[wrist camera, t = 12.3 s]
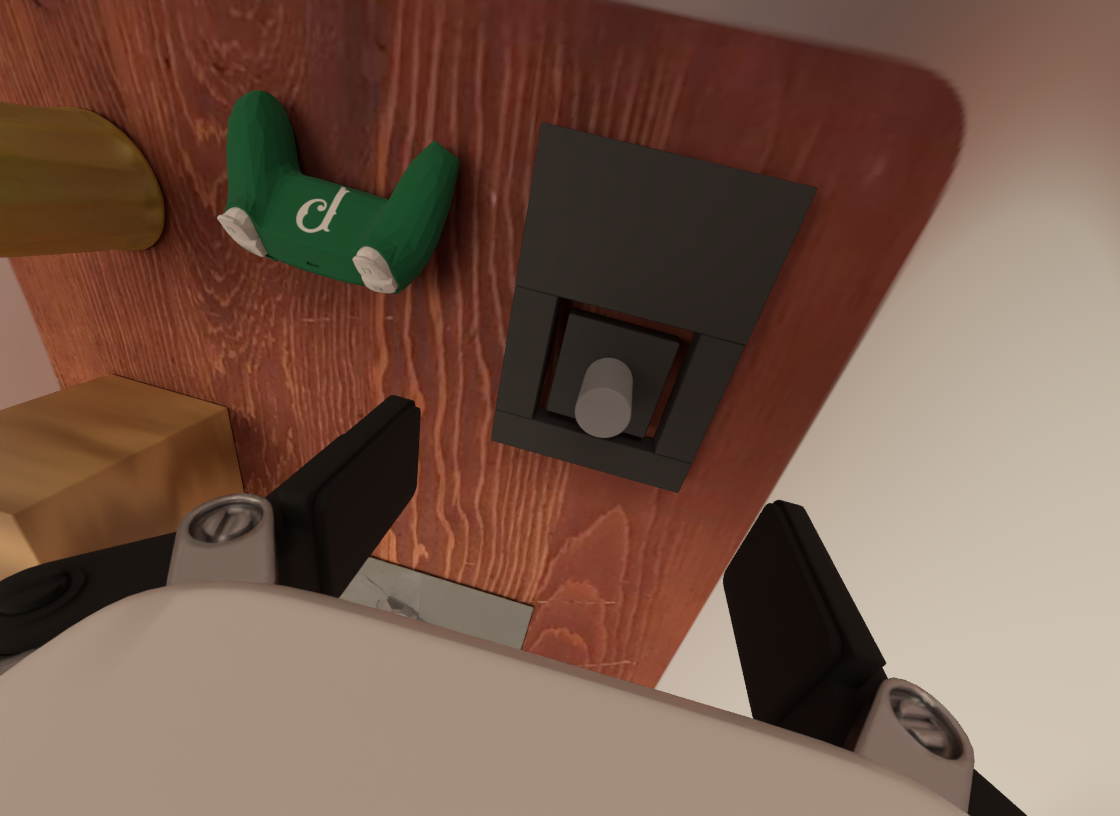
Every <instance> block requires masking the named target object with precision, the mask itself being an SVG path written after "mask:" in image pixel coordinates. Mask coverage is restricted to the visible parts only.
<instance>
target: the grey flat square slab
mask: <svg viewBox="0 0 1120 816" xmlns="http://www.w3.org/2000/svg"><path fill="white" fill-rule="evenodd" d="M339 599H343V600H346V601H350V602H354V603H357V604H361V605H365V606H369V607H372V608H376V609H380V610H384V611H387V612H391V613H394V614H398V615H401V616H405V617H408V618H412V619H415V620H419V621H422V622H426V623H429V624H433V625H436V626H440V627H443V628H447V629H450V630H454V631H457V632H461V633H464V634H468V635H471V636H475V637H478V638H481V639H485V640H488V641H492V642H495V643H499V644H502V645H506V646H509V647H513V648H516V649H519V650H521V647H522V644H523V641H524V637H525V634H526V631H527V627H528V624H529V620H530V617H531V614H532V610H533V607H530V606H527V605H523V604H520V603H517V602H514V601H510V600H507V599H504V598H501V597H497V596H494V595H491V594H488V593H484V592H481V591H478V590H475V589H471V588H468V587H465V586H462V585H458V584H455V583H452V582H449V581H445V580H442V579H439V578H436V577H432V576H429V575H426V574H423V573H419V572H416V571H413V570H410V569H406V568H403V567H400V566H396V565H393V564H390V563H387V562H383V561H380V560H377V559H374V558H370V557H369V558H368V559H367V561H366V562H365V563H364V565H363V566H362V567H361V569H360V570H359V572H358V573H357V574H356V576H355V577H354V578H353V580H352V581H351V583H350V584H349V585H348V587H347V588H346V590H345V591H344V592H343V594H342V595H341V596H340V597H339Z"/></svg>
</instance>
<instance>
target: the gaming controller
mask: <svg viewBox="0 0 1120 816" xmlns="http://www.w3.org/2000/svg"><path fill="white" fill-rule="evenodd" d="M226 154H227V175H228V199H227V206H226V209H225V212H224V214H223V215H219V216H218V217H217V219H218V220H219V221H220V223H221V224H222V226H223V227H224V228H225V230H226V231H227V233H228V234H229V235H230V236H231V237H232V238H233V239H234V240H235V241H236V242H237V243H238V244H240V245H241V246H242V247H243V248H245V249H247V250H249V251H251V252H252V253H254V254H256V255H258V256H261V257H264V256H265V257H267V258H270V259H272V260H274V261H279V260H280V261H282V262H284V263H286V264H288V265H291V266H294V267H297V268H300V269H302V270H305V271H309V272H312V273H315V274H318V275H321V276H325V277H329V278H332V279H336V280H339V281H343V282H346V283H351V284H357V285H362V286H367V287H368V288H369V289H370V290H373V291H376V292H381V293H396V294H398V293H400V292H401V291H402V290H403V289H405V288H406V287H407V286H408V285H409V284H410V283H411V282H412V281H413V280H414V279H415V278H416V277H418V276H419V275H420V274H421V273H422V270H423V269H424V267H425V266H426V265H427V263H428V262H429V260H430V258H431V256H432V254H433V252H434V250H435V248H436V246H437V244H438V241H439V238H440V235H441V232H442V230H443V227H444V224H445V221H446V218H447V215H448V212H449V210H450V207H451V202H452V198H453V194H454V189H455V185H456V181H457V176H458V171H459V161H460V160H459V159H458V158H457V157H455V156H454V155H453V154H452V153H450V152H449V151H448V150H447V149H445V148H444V147H443V146H441V145H440V144H439V143H438V142H436V141H434V142H432V143H431V144H430V145H428V146H427V147H426V148H425V149H424V150H423V151H422V152H421V153H420V154H419V155H418V156H417V157H416V158H415V159H414V160H413V161H412V162H411V164H410V165H409V167H408V168H407V170H406V171H405V172H404V174H403V175H402V177H401V179H400V181H399V183H398V184H397V186H396V188H395V190H394V192H393V193H392V195H391V197H390V199H389V200H388V199H385V198H382V197H379V196H376V195H373V194H370V193H366V192H363V191H360V190H356V189H353V188H349V187H346V186H343V185H339V184H336V183H333V182H329V181H326V180H322V179H318V178H314V177H310V176H306V175H303V174H301V172H300V168H299V163H298V156H297V150H296V145H295V139H294V134H293V129H292V126H291V124H290V121H289V118H288V116H287V113H286V111H285V110H284V108H283V106H282V105H281V104H280V103H279V101H278V100H277V99H276V98H275V97H273V96H272V95H271V94H269V93H267V92H264V91H257V90H255V91H250V92H248V93H247V94H245V95H244V96H242V97H241V98H239V99H238V100H236V102H235V105H234V107H233V110H232V112H231V114H230V117H229V119H228V133H227V148H226Z"/></svg>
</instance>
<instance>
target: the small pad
mask: <svg viewBox="0 0 1120 816" xmlns="http://www.w3.org/2000/svg"><path fill="white" fill-rule="evenodd" d="M679 346H680V344H679V340H678V337H677V336H674V335H670V334H667V333H663V332H660V331H656V330H652V329H649V328H645V327H641V326H638V325H634V324H630V323H627V322H623V321H619V320H616V319H612V318H608V317H605V316H601V315H598V314H594V313H590V312H587V311H583V310H579V309H576V308H573V309H572V311H571V313H570V314H569V317H568V321H567V326H566V330H565V334H564V338H563V342H562V346H561V350H560V355H559V359H558V363H557V367H556V371H555V375H554V379H553V384H552V388H551V392H550V396H549V400H548V404H547V410H548V411H551V412H555V413H558V414H561V415H565V416H568V417H572V418H575V419H576V420H577V422H578V424H579V426H580V427H581V428H582V429H583V430H584V431H585V432H587V433H588V434H590V435H592V436H595V437H600V438H609V437H613V436H616V435H618V434H620V433H621V432H624V433H628V434H631V435H634V436H638V437H641V438H644V436H645V434H646V431H647V428H648V426H649V423H650V421H651V418H652V416H653V413H654V410H655V408H656V405H657V403H658V400H659V397H660V395H661V392H662V390H663V387H664V385H665V382H666V379H667V377H668V374H669V372H670V369H671V367H672V364H673V361H674V359H675V356H676V354H677V351H678V348H679Z"/></svg>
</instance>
